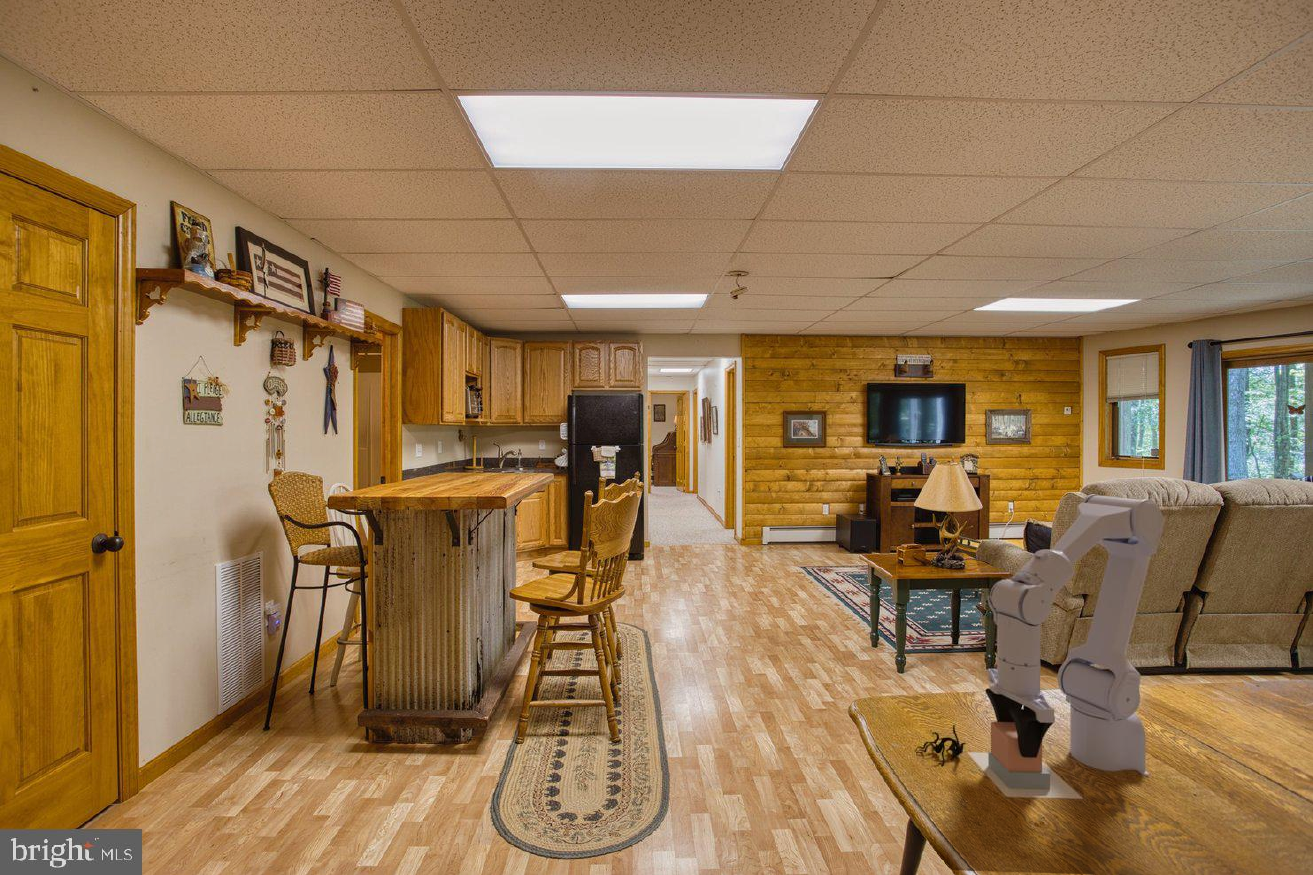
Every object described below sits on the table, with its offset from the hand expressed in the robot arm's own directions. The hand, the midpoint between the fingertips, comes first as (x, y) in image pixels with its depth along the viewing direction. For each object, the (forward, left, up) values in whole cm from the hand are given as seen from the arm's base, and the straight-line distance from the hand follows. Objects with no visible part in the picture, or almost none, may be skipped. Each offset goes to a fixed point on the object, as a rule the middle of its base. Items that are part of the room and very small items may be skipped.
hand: (1018, 746), depth 91 cm
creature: (+10, -6, -6) cm, 13 cm away
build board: (-1, -1, -6) cm, 6 cm away
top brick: (0, 0, -2) cm, 2 cm away
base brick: (0, 0, -5) cm, 5 cm away
